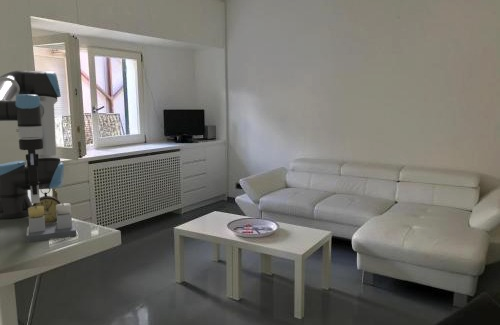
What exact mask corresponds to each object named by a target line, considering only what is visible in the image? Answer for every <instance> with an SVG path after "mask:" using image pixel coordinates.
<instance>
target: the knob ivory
mask: <svg viewBox="0 0 500 325" xmlns="http://www.w3.org/2000/svg"><path fill="white" fill-rule="evenodd" d="M71 205H72V204H71V203H68V202H65V203H64V202H63V203H61V204H57V205H56V214H61V215H65V214H67V213H70V212H71V213H72V208H71V207H72V206H71Z"/></svg>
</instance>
